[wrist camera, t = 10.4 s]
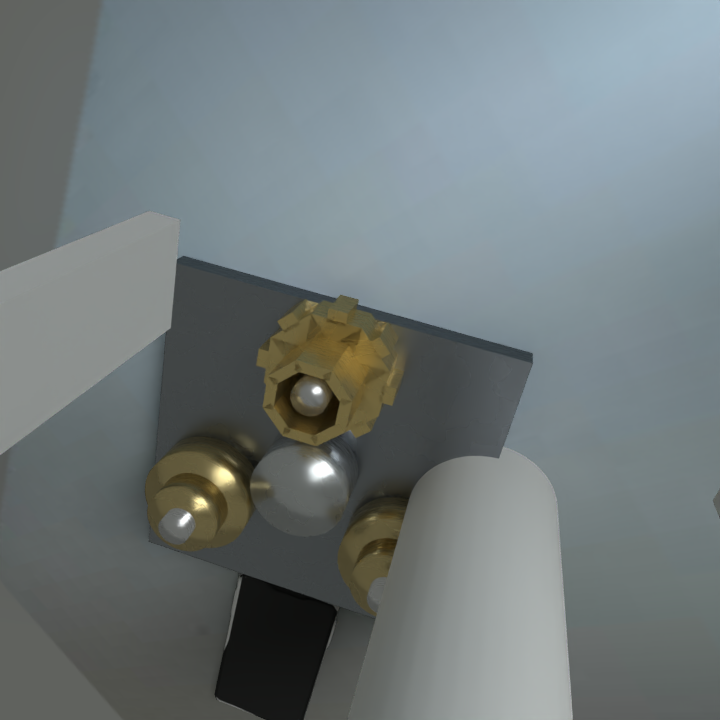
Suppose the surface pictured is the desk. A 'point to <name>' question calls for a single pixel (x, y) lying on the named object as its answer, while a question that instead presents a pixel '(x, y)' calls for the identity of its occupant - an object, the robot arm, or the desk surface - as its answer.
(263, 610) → the smartphone
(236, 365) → the plate
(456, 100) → the desk surface
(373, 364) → the gear
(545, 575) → the cylinder container
